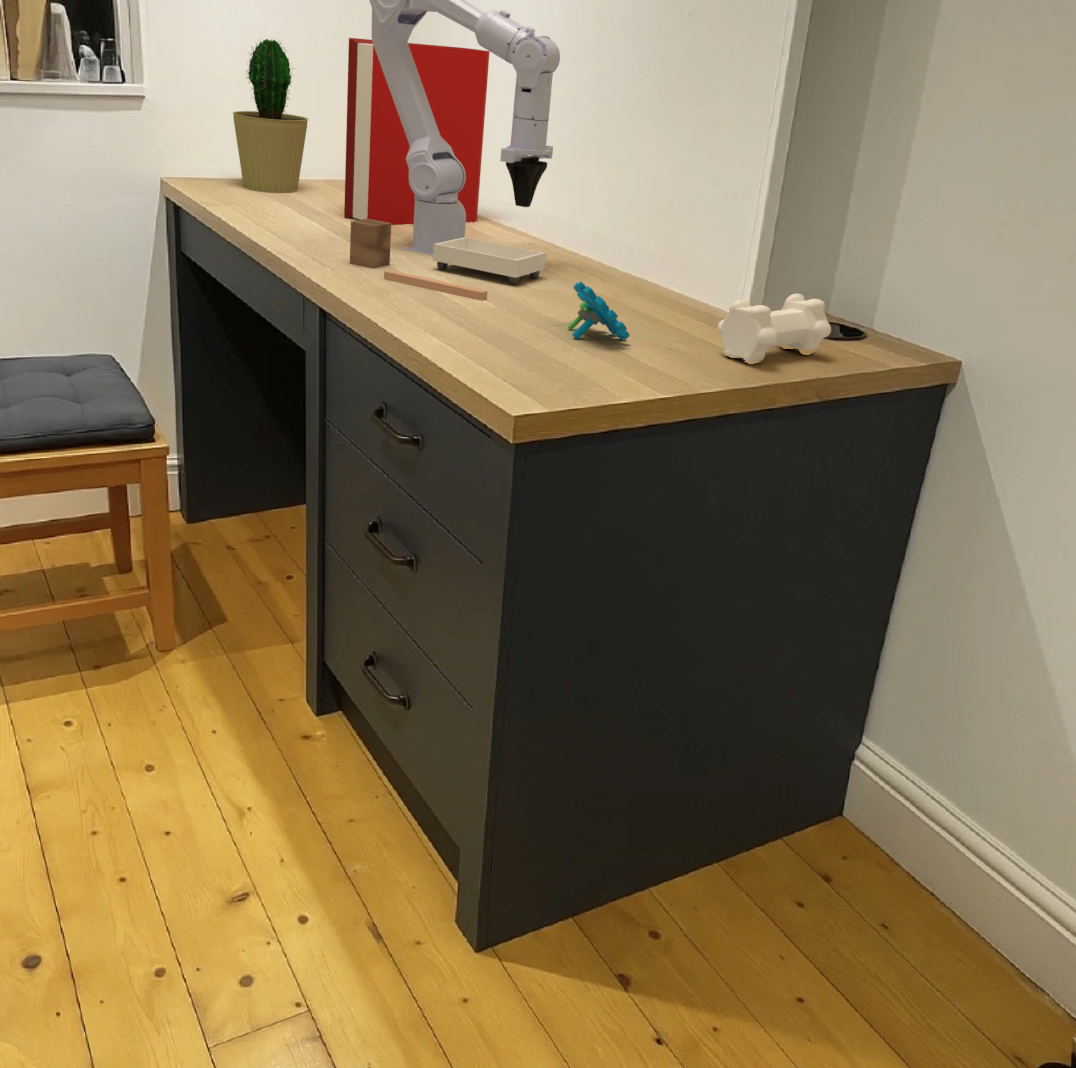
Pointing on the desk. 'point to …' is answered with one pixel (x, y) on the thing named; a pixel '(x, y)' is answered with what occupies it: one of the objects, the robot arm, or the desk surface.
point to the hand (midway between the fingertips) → (522, 206)
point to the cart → (489, 258)
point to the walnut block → (370, 243)
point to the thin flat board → (435, 285)
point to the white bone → (773, 327)
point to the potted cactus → (270, 126)
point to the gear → (595, 314)
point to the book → (381, 138)
